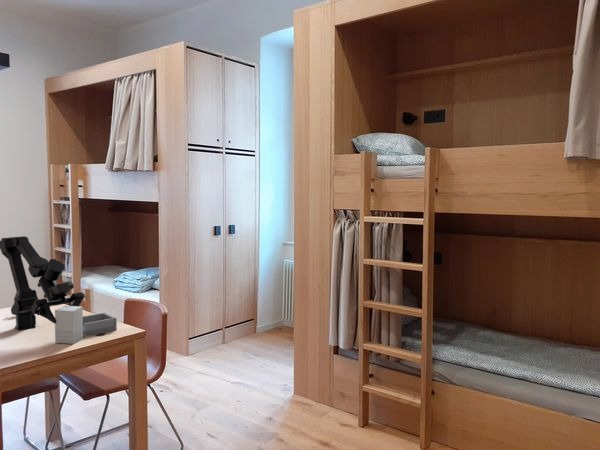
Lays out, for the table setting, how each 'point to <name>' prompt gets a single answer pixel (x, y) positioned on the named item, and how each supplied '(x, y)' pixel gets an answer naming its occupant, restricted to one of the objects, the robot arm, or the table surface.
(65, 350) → the table surface
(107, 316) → the dock
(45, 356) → the table surface
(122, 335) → the table surface
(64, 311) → the supplement box
